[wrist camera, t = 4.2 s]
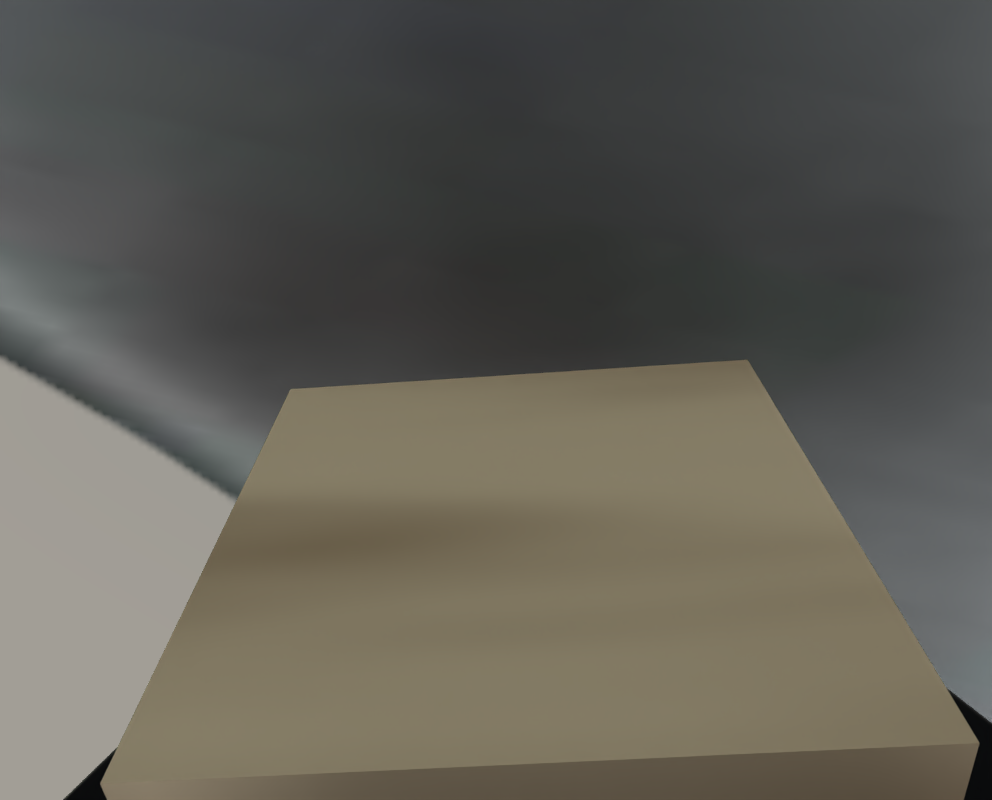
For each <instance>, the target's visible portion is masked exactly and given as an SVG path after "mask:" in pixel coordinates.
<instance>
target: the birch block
mask: <svg viewBox="0 0 992 800" xmlns="http://www.w3.org/2000/svg"><path fill="white" fill-rule="evenodd" d="M978 747H979V741H978V740H977V738H976V736H975V735H974V733H973V731H972V730H971V728H970V726H969V725H968V723H967V721H966V720H965V718H964V717H963V715H962V713H961V712H960V710H959V708H958V707H957V705H956V703H955V702H954V700H953V698H952V697H951V695H950V693H949V692H948V690H947V688H946V687H945V685H944V683H943V682H942V680H941V679H940V677H939V675H938V674H937V672H936V670H935V669H934V667H933V665H932V664H931V662H930V660H929V659H928V657H927V655H926V654H925V652H924V650H923V649H922V647H921V646H920V644H919V642H918V641H917V639H916V637H915V636H914V634H913V632H912V631H911V629H910V627H909V626H908V624H907V622H906V621H905V619H904V617H903V616H902V614H901V612H900V611H899V609H898V608H897V606H896V604H895V603H894V601H893V599H892V598H891V596H890V594H889V593H888V591H887V589H886V588H885V586H884V584H883V583H882V581H881V579H880V578H879V576H878V574H877V573H876V571H875V570H874V568H873V566H872V565H871V563H870V561H869V560H868V558H867V556H866V555H865V553H864V551H863V550H862V548H861V546H860V545H859V543H858V541H857V540H856V538H855V537H854V535H853V533H852V532H851V530H850V528H849V527H848V525H847V523H846V522H845V520H844V518H843V517H842V515H841V513H840V512H839V510H838V508H837V507H836V505H835V503H834V502H833V500H832V499H831V497H830V495H829V494H828V492H827V490H826V489H825V487H824V485H823V484H822V482H821V480H820V479H819V477H818V475H817V474H816V472H815V470H814V469H813V467H812V465H811V464H810V462H809V461H808V459H807V457H806V456H805V454H804V452H803V451H802V449H801V447H800V446H799V444H798V442H797V441H796V439H795V437H794V436H793V434H792V432H791V431H790V429H789V428H788V426H787V424H786V423H785V421H784V419H783V418H782V416H781V414H780V413H779V411H778V409H777V408H776V406H775V404H774V403H773V401H772V399H771V398H770V396H769V394H768V393H767V391H766V390H765V388H764V386H763V385H762V383H761V381H760V380H759V378H758V376H757V375H756V373H755V371H754V370H753V368H752V366H751V365H750V363H749V361H748V360H735V361H719V362H704V363H688V364H673V365H657V366H642V367H626V368H611V369H596V370H580V371H565V372H549V373H534V374H518V375H503V376H487V377H472V378H456V379H441V380H425V381H410V382H394V383H379V384H363V385H348V386H332V387H317V388H301V389H290V391H289V393H288V395H287V397H286V400H285V402H284V404H283V406H282V408H281V410H280V412H279V414H278V416H277V418H276V420H275V422H274V424H273V426H272V429H271V431H270V433H269V435H268V437H267V439H266V441H265V443H264V445H263V447H262V449H261V451H260V453H259V455H258V458H257V460H256V462H255V464H254V466H253V468H252V470H251V472H250V474H249V476H248V478H247V480H246V482H245V484H244V487H243V489H242V491H241V493H240V495H239V497H238V499H237V501H236V503H235V505H234V507H233V509H232V511H231V513H230V516H229V518H228V520H227V522H226V524H225V526H224V528H223V530H222V532H221V534H220V536H219V538H218V540H217V543H216V545H215V547H214V549H213V551H212V553H211V555H210V557H209V559H208V561H207V563H206V565H205V568H204V569H203V571H202V573H201V576H200V578H199V580H198V582H197V584H196V586H195V588H194V590H193V592H192V594H191V596H190V599H189V600H188V602H187V605H186V607H185V609H184V611H183V613H182V615H181V617H180V619H179V621H178V623H177V625H176V627H175V629H174V631H173V634H172V636H171V638H170V640H169V642H168V644H167V646H166V648H165V650H164V653H163V654H162V656H161V658H160V660H159V663H158V665H157V667H156V669H155V671H154V673H153V675H152V677H151V679H150V681H149V683H148V685H147V687H146V689H145V692H144V694H143V696H142V698H141V700H140V702H139V704H138V706H137V708H136V710H135V712H134V715H133V717H132V718H131V721H130V723H129V725H128V727H127V729H126V731H125V733H124V735H123V737H122V739H121V741H120V743H119V745H118V747H117V749H116V752H115V754H114V756H113V758H112V760H111V762H110V764H109V766H108V768H107V770H106V772H105V774H104V776H103V778H102V781H101V783H100V785H101V787H102V789H103V792H104V794H105V796H106V798H107V800H964V797H965V793H966V790H967V786H968V783H969V779H970V776H971V772H972V768H973V765H974V761H975V758H976V754H977V751H978Z"/></svg>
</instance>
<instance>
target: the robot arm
mask: <svg viewBox="0 0 992 800" xmlns="http://www.w3.org/2000/svg"><path fill="white" fill-rule="evenodd" d="M947 690H948V689H947ZM948 692H949V693H950V695H951V697H952V698H953V700H954V702H955V703H956V705H957V707H958V708H959V710H960V712H961V713H962V715H963V717H964V718H965V720H966V721H967V723H968V725H969V726H970V728H971V730H972V731H973V733H974V735H975V736H976V738H977V740H978V741H979V747H978V751H977V754H976V758H975V761H974V765H973V768H972V772H971V776H970V779H969V783H968V786H967V790H966V793H965V797H964V800H992V723H991V722H990V721H988V720H987V719H986V718H984V717H983V716H982V715H981V714H979V713H978V712H977V711H975V710H974V709H973V708H972V707H970V706H969V705H968V704H966V703H965V702H964V701H963V700H961V699H960V698H959V697H957V696H956V695H955V694H954V693H952V692H951V691H950V690H948ZM116 749H117V748H116ZM116 749H115V750H114V751H113V752H112V753H111V754H110V755H109V756H108V757H107V758H106V759H105V760H104V761H103V762H102V763H101V764H100V765H99V766H97V768H95V769H94V771H92V772H91V773H90V774H89V775H88V776H87V777H86V778H85V779H84V780H83V781H82V782H81V783H80V784H79V785H78V786H77V787H76V788H75V789H74V790H73V791H72V792H71V793H69V794H68V796H66V797H65V798H64V799H63V800H107V798H106V796H105V794H104V792H103V789H102V787H101V785H100V783H101V781H102V778H103V776H104V774H105V772H106V770H107V768H108V766H109V764H110V762H111V760H112V758H113V756H114V754H115V752H116Z"/></svg>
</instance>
